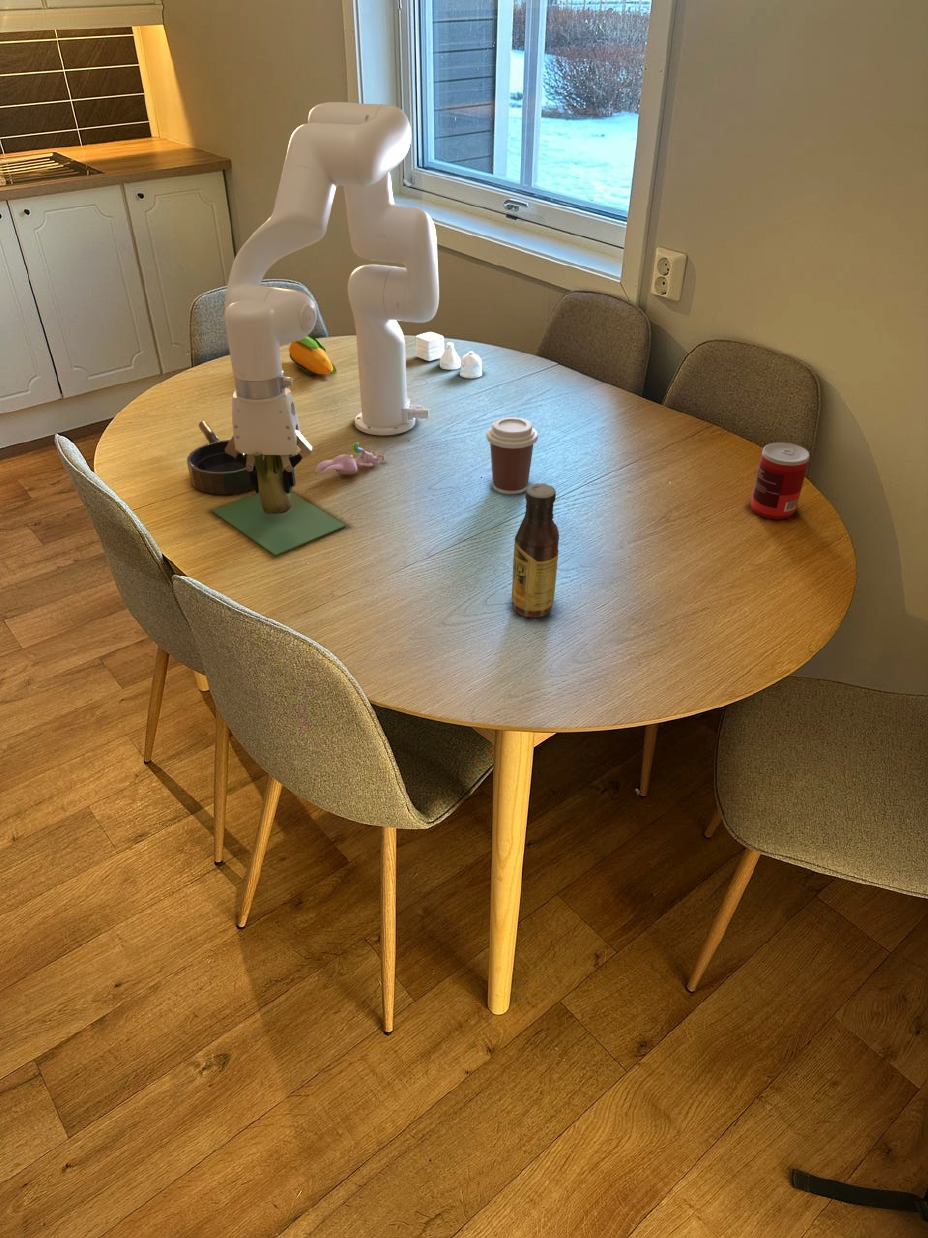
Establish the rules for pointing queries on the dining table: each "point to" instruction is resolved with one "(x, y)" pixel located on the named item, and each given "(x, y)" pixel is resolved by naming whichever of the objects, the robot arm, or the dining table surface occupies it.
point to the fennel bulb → (272, 484)
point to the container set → (447, 355)
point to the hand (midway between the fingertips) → (274, 488)
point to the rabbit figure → (350, 461)
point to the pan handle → (208, 432)
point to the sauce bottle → (536, 554)
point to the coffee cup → (511, 453)
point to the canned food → (779, 480)
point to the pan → (217, 470)
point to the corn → (311, 356)
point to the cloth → (279, 523)
